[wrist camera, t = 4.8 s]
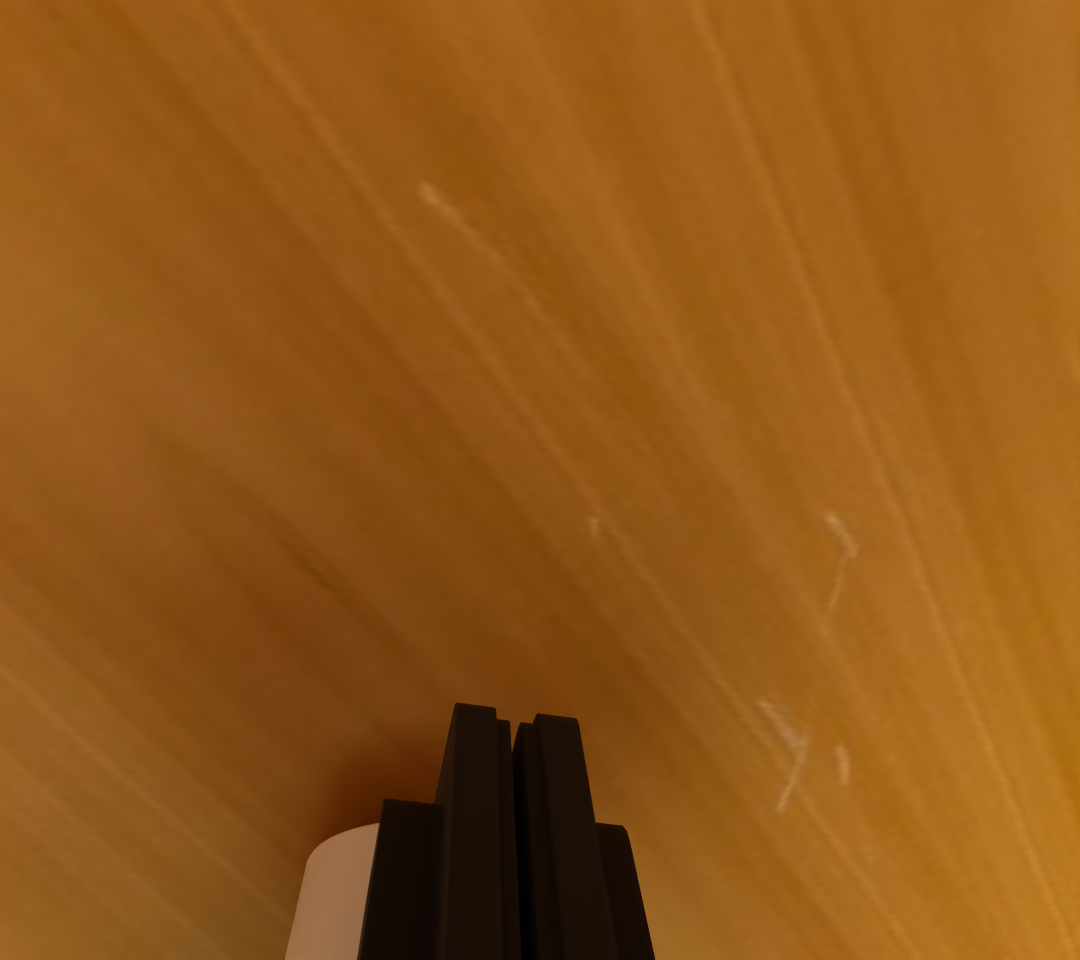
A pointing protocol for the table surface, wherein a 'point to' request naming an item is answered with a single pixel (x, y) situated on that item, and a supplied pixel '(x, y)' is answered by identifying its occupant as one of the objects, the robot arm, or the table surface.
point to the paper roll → (333, 897)
